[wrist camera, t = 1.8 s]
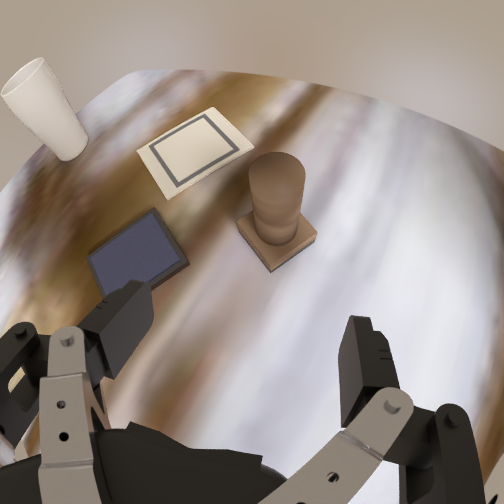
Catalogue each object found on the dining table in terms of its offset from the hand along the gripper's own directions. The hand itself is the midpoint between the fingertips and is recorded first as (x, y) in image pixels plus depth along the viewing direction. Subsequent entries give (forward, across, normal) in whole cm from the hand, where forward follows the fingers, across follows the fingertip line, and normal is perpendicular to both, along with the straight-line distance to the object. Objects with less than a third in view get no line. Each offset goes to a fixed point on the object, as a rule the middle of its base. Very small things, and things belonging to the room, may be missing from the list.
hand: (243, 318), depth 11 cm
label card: (+24, +11, -4) cm, 26 cm away
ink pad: (+14, +13, +6) cm, 20 cm away
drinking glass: (+24, +30, -4) cm, 38 cm away
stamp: (+17, 0, +3) cm, 17 cm away
